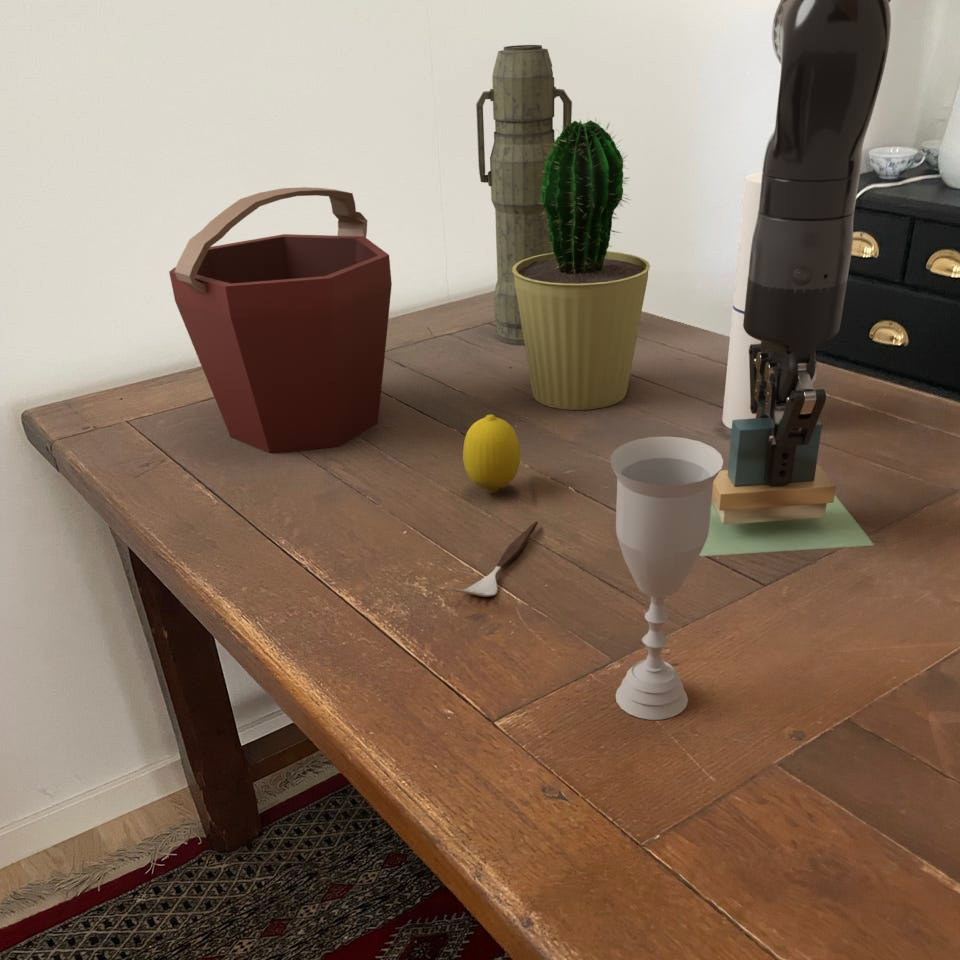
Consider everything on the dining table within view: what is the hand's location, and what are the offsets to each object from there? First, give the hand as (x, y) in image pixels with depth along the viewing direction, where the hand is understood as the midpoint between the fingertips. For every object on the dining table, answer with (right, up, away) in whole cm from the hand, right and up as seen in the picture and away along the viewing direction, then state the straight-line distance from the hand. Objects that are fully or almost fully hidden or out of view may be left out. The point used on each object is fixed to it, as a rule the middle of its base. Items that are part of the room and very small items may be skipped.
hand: (771, 475), depth 89 cm
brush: (0, -3, +2) cm, 3 cm away
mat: (0, -4, +3) cm, 5 cm away
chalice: (-13, -19, -17) cm, 29 cm away
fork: (-24, -8, -1) cm, 25 cm away
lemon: (-24, 0, +12) cm, 27 cm away
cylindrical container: (+5, +10, +24) cm, 26 cm away
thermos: (-19, +28, +53) cm, 63 cm away
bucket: (-45, +10, +29) cm, 55 cm away
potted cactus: (-14, +15, +34) cm, 39 cm away
